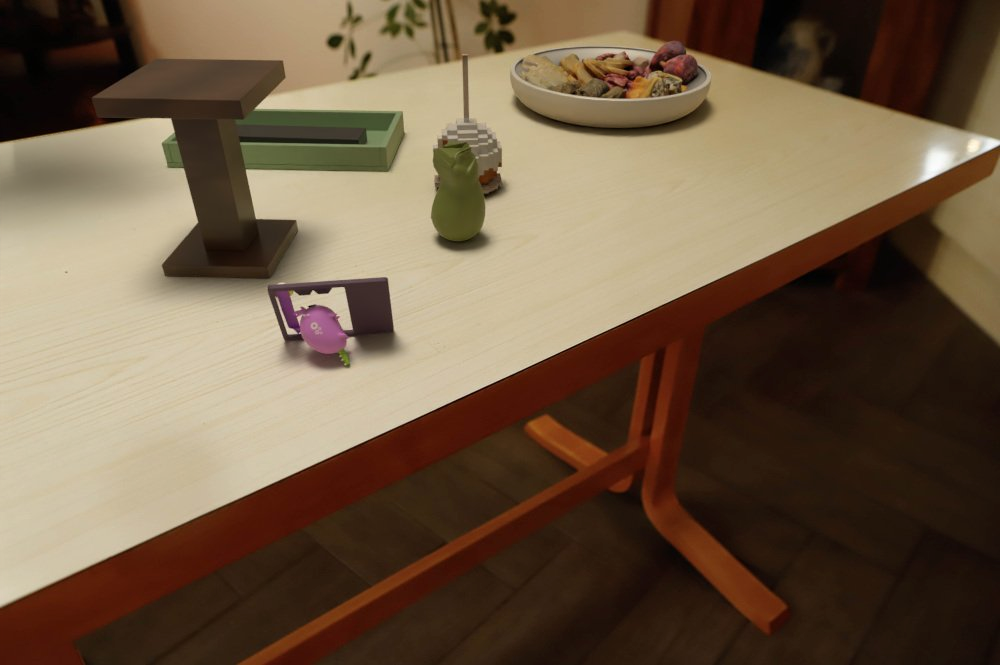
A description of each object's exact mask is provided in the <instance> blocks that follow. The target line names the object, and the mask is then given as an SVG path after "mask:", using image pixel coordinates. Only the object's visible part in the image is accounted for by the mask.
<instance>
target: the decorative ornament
mask: <svg viewBox="0 0 1000 665" xmlns="http://www.w3.org/2000/svg"><path fill="white" fill-rule="evenodd" d="M461 57H462V58H461V59H462V61H461V62H462V64H461V65H462V89H463V90H462V93H463V94H462V96H463V97H462V98H463V99H462V100H463V101H462V102H463V118H456V119H455V123H446V126H445V127H446V128H441V135H440V134H439V135H436V136H437V137H436V138H437V144H432V154H433V156H434V150H436V149H438V148H441V147H443V146H444V145H446V144H448V143H449V142H452V141H455V142H459V143H465V142H467V143H468V144H469V146H470V147H471V152H472V153H473V154H474V155H475V157H476V160H477V162H478V167H479V173H478V179H479V182H480V184H481V187H482V190H483V193H484V195H486V194H490V192H494V190H498V189H499V186H502V185H503V182H502V179H503V178H502V175H501V172H499V168H502V167H503V146H502V144H501V141H499V140H498V138H497V133H496V131H492V128H491V127H487V122H477V118H476V117H475V118H470V98H469V97H470V96H469V54H468V53H462V54H461ZM433 156H432V157H433ZM439 185H440V177H439V175H438V174H434V187H435V188H439Z"/></svg>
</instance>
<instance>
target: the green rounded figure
mask: <svg viewBox="0 0 1000 665" xmlns="http://www.w3.org/2000/svg"><path fill="white" fill-rule="evenodd" d="M432 164H433V168H434V170H435V171H436V173H437V175H439V177H440V185H439V187H437V188H438V189H437V191H436V193H435V196H434V197H433V198H434V199H433V201H432V205H431V211H430V212H431V213H430V216H431V222H432V225H433V227H434V229H435V231H436V232H437V234H438V235H440V236H441V237H442V238H444V239H445V240H447V241H452V242H465V241H469V240H470V239H473V237H475V236H476V235H477V234H478V233H479V232H480V231H481V229H482V228H483V226H484V223H485V217H486V200H485V194H484V193H483V190H482V187H481V184H480V182H479V179H478V173H479V167H478V162H477V160H476V157H475V155H474V154H473V153H472V152H471V147H470V146H469V144H468V143H467V142H465V143H459V142H455V141H452V142H449V143H448V144H446V145H444V146H443V147H441V148H438V149H436V150H434V156H432Z"/></svg>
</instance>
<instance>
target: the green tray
mask: <svg viewBox="0 0 1000 665" xmlns="http://www.w3.org/2000/svg"><path fill="white" fill-rule="evenodd" d="M235 121H236V124H241V125H278V126H316V127H353V128H366V133H367V142H366V143H365V145H358V144H303V143H247V142H240V145H241V150H242V154H243V159H244V164H245V169H252V170H253V169H256V170H301V171H303V170H305V171H306V170H307V171H308V170H311V171H354V172H355V171H357V172H358V171H359V172H360V171H361V172H388V171H389V170H390V168H391V165H392V162H393V161H394V159H395V155H396V154H397V151H398V149H399V147H400V144H401V142H402V140H403V137H404V134H405V123H404V110H357V109H356V110H355V109H354V110H353V109H352V110H346V109H297V108H296V109H295V108H293V109H292V108H291V109H290V108H289V109H288V108H287V109H286V108H255V109H254V110H253V111H252V112H251V113H250V114H249V115H248V116H247V117H246V118H245V119H244V120H235ZM161 147H162V150H163V154H164V157H165V158H164V159H165V161H166V165H167V168H184V166H183V162H182V159H181V155H180V151H179V147H178V143H177V139H176V136H175V132H174V131H173V133H172V134H170V135H169V136H168V137H167V138H166V139H165V140H163V141H162V142H161Z"/></svg>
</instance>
